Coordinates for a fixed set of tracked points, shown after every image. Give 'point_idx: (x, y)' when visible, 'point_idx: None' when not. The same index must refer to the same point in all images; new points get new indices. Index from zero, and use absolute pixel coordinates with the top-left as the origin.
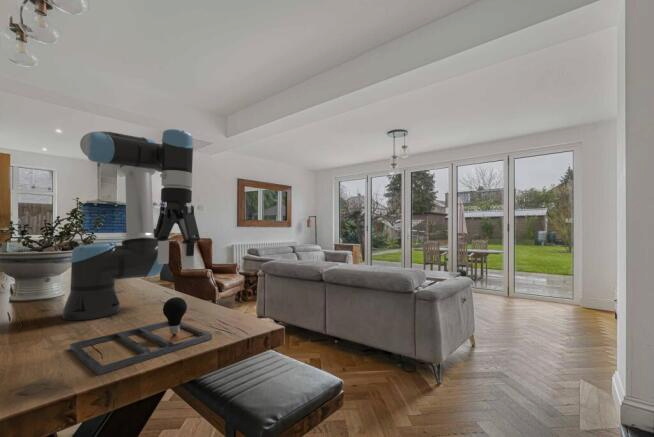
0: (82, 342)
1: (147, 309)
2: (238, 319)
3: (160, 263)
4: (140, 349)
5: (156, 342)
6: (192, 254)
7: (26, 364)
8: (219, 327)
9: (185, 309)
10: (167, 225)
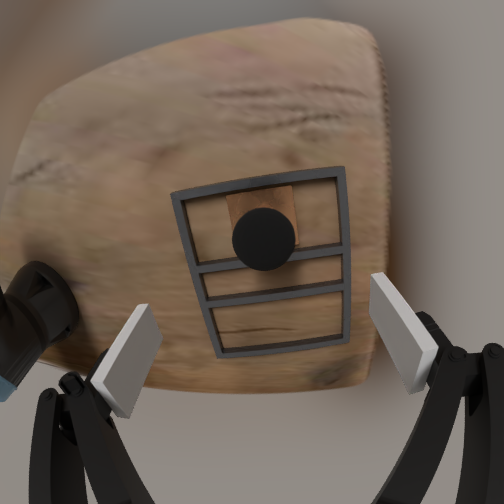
0: (219, 347)
1: (48, 218)
2: (248, 55)
3: (159, 335)
4: (318, 293)
5: None
6: (427, 320)
7: (245, 383)
8: (278, 117)
9: (287, 218)
10: (147, 501)
